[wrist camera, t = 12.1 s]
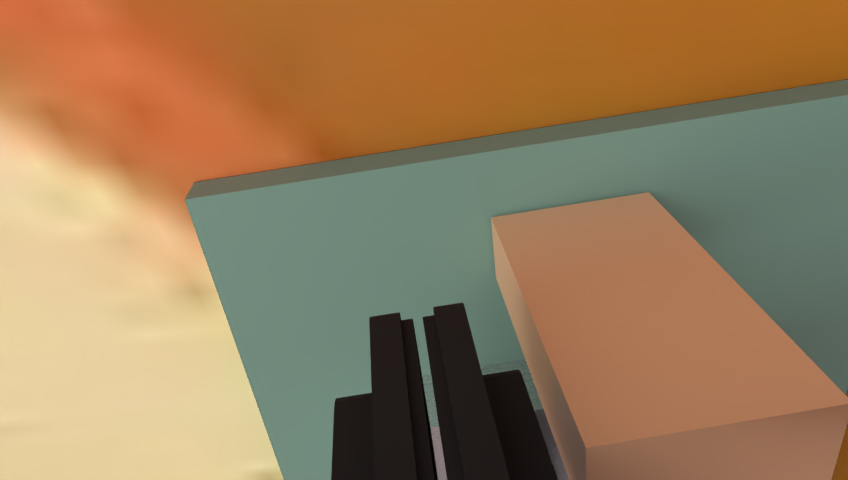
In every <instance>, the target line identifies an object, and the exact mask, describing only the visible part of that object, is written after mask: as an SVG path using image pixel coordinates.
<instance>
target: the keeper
mask: <svg viewBox="0 0 848 480" xmlns="http://www.w3.org/2000/svg"><path fill="white" fill-rule="evenodd" d="M491 226H492V238H493V249H494V261H495V273H496V279H497V282H498V285H499V287H500V290H501V293H502V296H503V299H504V301H505V304H506V307H507V310H508V312H509V315H510V318H511V321H512V323H513V326H514V329H515V332H516V334H517V337H518V340H519V343H520V345H521V348H522V351H523V354H524V356H525V359H526V362H527V365H528V368H529V370H530V373H531V376H532V379H533V381H534V384H535V387H536V390H537V392H538V395H539V398H540V401H541V403H542V406H543V409H544V412H545V414H546V417H547V420H548V423H549V425H550V428H551V431H552V434H553V436H554V439H555V442H556V445H557V448H558V450H559V453H560V456H561V459H562V461H563V464H564V467H565V470H566V472H567V475H568V478H569V480H831V479H832V476H833V472H834V469H835V465H836V462H837V458H838V455H839V451H840V448H841V444H842V441H843V437H844V434H845V430H846V427H847V423H848V397H847V396H846V395H845V394H844V393H843V392H842V391H841V390H840V389H839V388H838V387H837V386H836V385H835V384H834V383H833V382H832V381H831V380H830V379H829V377H828V376H827V375H826V374H825V373H824V372H823V371H822V370H821V369H820V368H819V367H818V366H817V365H816V364H815V363H814V362H813V361H812V360H811V359H810V358H809V357H808V356H807V355H806V354H805V353H804V352H803V351H802V350H801V349H800V348H799V347H798V346H797V344H796V343H795V342H794V341H793V340H792V339H791V338H790V337H789V336H788V335H787V334H786V333H785V332H784V331H783V330H782V329H781V328H780V327H779V326H778V325H777V324H776V323H775V322H774V321H773V320H772V319H771V318H770V317H769V316H768V315H767V314H766V313H765V311H764V310H763V309H762V308H761V307H760V306H759V305H758V304H757V303H756V302H755V301H754V300H753V299H752V298H751V297H750V296H749V295H748V294H747V293H746V292H745V291H744V290H743V289H742V288H741V287H740V286H739V285H738V284H737V283H736V282H735V281H734V280H733V278H732V277H731V276H730V275H729V274H728V273H727V272H726V271H725V270H724V269H723V268H722V267H721V266H720V265H719V264H718V263H717V262H716V261H715V260H714V259H713V258H712V257H711V256H710V255H709V254H708V253H707V252H706V251H705V250H704V249H703V248H702V247H701V245H700V244H699V243H698V242H697V241H696V240H695V239H694V238H693V237H692V236H691V235H690V234H689V233H688V232H687V231H686V230H685V229H684V228H683V227H682V226H681V225H680V224H679V223H678V222H677V221H676V220H675V219H674V218H673V217H672V216H671V215H670V214H669V212H668V211H667V210H666V209H665V208H664V207H663V206H662V205H661V204H660V203H659V202H658V201H657V200H656V199H655V198H654V197H653V196H652V195H651V194H650V193H649V192H646V193H640V194H634V195H628V196H621V197H615V198H609V199H603V200H596V201H590V202H584V203H578V204H572V205H565V206H559V207H553V208H547V209H540V210H534V211H528V212H522V213H515V214H509V215H503V216H497V217H491Z"/></svg>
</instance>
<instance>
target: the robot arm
mask: <svg viewBox="0 0 848 480" xmlns="http://www.w3.org/2000/svg"><path fill="white" fill-rule="evenodd" d="M433 311H434V315H432V316H425V317H423V324H424V330H425V337H426V344H427V350H428V357H429V364H430V370H431V377H432V383H433V390H434V397H435V403H436V410H437V416H438V423H439V430H440V436H441V443H442V449H443V456H444V462H445V468H446V475H447V480H558V478H557V475H556V472H555V469H554V466H553V463H552V461H551V458H550V455H549V452H548V449H547V446H546V443H545V440H544V437H543V434H542V431H541V429H540V426H539V423H538V420H537V417H536V414H535V411H534V408H533V405H532V402H531V399H530V397H529V394H528V391H527V388H526V385H525V382H524V379H523V377H522V374H521V372H520V371H519V369H518V370H511V371H505V372H499V373H493V374H486V375H482V371H481V367H480V364H479V360H478V356H477V352H476V348H475V345H474V341H473V337H472V333H471V329H470V326H469V322H468V318H467V314H466V310H465V307H464V303H463V302H462V303H456V304H449V305H443V306H436V307H433ZM369 327H370V357H371V388H372V393H366V394H360V395H354V396H347V397H341V398H336V400H335V404H334V422H333V447H332V471H331V480H438V476H437V469H436V462H435V455H434V448H433V441H432V434H431V428H430V422H429V415H428V409H427V403H426V397H425V390H424V384H423V378H422V372H421V366H420V359H419V353H418V347H417V341H416V334H415V328H414V322H413V319H406V320H401V315H400V312H398V313H391V314H385V315H379V316H372V317H370V318H369Z"/></svg>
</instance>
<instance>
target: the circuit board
mask: <svg viewBox="0 0 848 480" xmlns="http://www.w3.org/2000/svg"><path fill="white" fill-rule="evenodd" d="M646 192H649V193H650V194H651V195H652V196H653V197H654V198H655V199H656V200H657V201H658V202H659V203H660V204H661V205H662V206H663V207H664V208H665V209H666V210H667V211H668V212H669V214H670V215H671V216H672V217H673V218H674V219H675V220H676V221H677V222H678V223H679V224H680V225H681V226H682V227H683V228H684V229H685V230H686V231H687V232H688V233H689V234H690V235H691V236H692V237H693V238H694V239H695V240H696V241H697V242H698V243H699V244H700V245H701V247H702V248H703V249H704V250H705V251H706V252H707V253H708V254H709V255H710V256H711V257H712V258H713V259H714V260H715V261H716V262H717V263H718V264H719V265H720V266H721V267H722V268H723V269H724V270H725V271H726V272H727V273H728V274H729V275H730V276H731V277H732V278H733V280H734V281H735V282H736V283H737V284H738V285H739V286H740V287H741V288H742V289H743V290H744V291H745V292H746V293H747V294H748V295H749V296H750V297H751V298H752V299H753V300H754V301H755V302H756V303H757V304H758V305H759V306H760V307H761V308H762V309H763V310H764V311H765V313H766V314H767V315H768V316H769V317H770V318H771V319H772V320H773V321H774V322H775V323H776V324H777V325H778V326H779V327H780V328H781V329H782V330H783V331H784V332H785V333H786V334H787V335H788V336H789V337H790V338H791V339H792V340H793V341H794V342H795V343H796V344H797V346H798V347H799V348H800V349H801V350H802V351H803V352H804V353H805V354H806V355H807V356H808V357H809V358H810V359H811V360H812V361H813V362H814V363H815V364H816V365H817V366H818V367H819V368H820V369H821V370H822V371H823V372H824V373H825V374H826V375H827V376H828V377H829V379H830V380H831V381H832V382H833V383H834V384H835V385H836V386H837V387H838V388H839V389H840V390H841V391H842V392H843V393H844V394H845V395H846V392H847V389H848V79H847V80H841V81H834V82H828V83H822V84H815V85H809V86H803V87H796V88H790V89H784V90H777V91H771V92H765V93H758V94H752V95H746V96H739V97H733V98H727V99H720V100H714V101H708V102H701V103H695V104H688V105H682V106H676V107H669V108H663V109H657V110H650V111H644V112H638V113H631V114H625V115H619V116H612V117H606V118H600V119H593V120H587V121H581V122H574V123H568V124H562V125H555V126H549V127H543V128H536V129H530V130H523V131H517V132H511V133H504V134H498V135H492V136H485V137H479V138H473V139H466V140H460V141H454V142H447V143H441V144H435V145H428V146H422V147H416V148H409V149H403V150H397V151H390V152H384V153H378V154H371V155H365V156H358V157H352V158H346V159H339V160H333V161H327V162H320V163H314V164H308V165H301V166H295V167H289V168H282V169H276V170H270V171H263V172H257V173H251V174H244V175H238V176H232V177H225V178H219V179H213V180H206V181H200V182H194V184H193V186H192V187H191V189H190V191H189V193H188V195H187V196H186V198H185V202H186V205H187V208H188V210H189V213H190V216H191V219H192V222H193V224H194V227H195V230H196V233H197V236H198V239H199V241H200V244H201V247H202V250H203V253H204V255H205V258H206V261H207V264H208V267H209V270H210V272H211V275H212V278H213V281H214V284H215V286H216V289H217V292H218V295H219V298H220V301H221V303H222V306H223V309H224V312H225V315H226V317H227V320H228V323H229V326H230V329H231V332H232V334H233V337H234V340H235V343H236V346H237V348H238V351H239V354H240V357H241V360H242V363H243V365H244V368H245V371H246V374H247V377H248V379H249V382H250V385H251V388H252V391H253V394H254V396H255V399H256V402H257V405H258V408H259V410H260V413H261V416H262V419H263V422H264V425H265V427H266V430H267V433H268V436H269V439H270V441H271V444H272V447H273V450H274V453H275V456H276V458H277V461H278V464H279V467H280V470H281V472H282V475H283V478H284V480H331V471H332V447H333V422H334V404H335V400H336V398H341V397H347V396H354V395H360V394H366V393H372V388H371V357H370V327H369V318H370V317H372V316H379V315H385V314H391V313H398V312H400V315H401V320H406V319H413V322H414V328H415V334H416V341H417V347H418V353H419V359H420V366H421V372H422V376H424V375H430V374H431V370H430V364H429V357H428V350H427V344H426V337H425V330H424V324H423V317H425V316H432V315H434V311H433V307H436V306H443V305H449V304H456V303H462V302H463V303H464V307H465V310H466V314H467V318H468V322H469V326H470V329H471V333H472V337H473V341H474V345H475V348H476V352H477V356H478V360H479V364H480V366H485V365H491V364H497V363H503V362H509V361H515V360H521V359H525V356H524V354H523V351H522V348H521V345H520V343H519V340H518V337H517V334H516V332H515V329H514V326H513V323H512V321H511V318H510V315H509V312H508V310H507V307H506V304H505V301H504V299H503V296H502V293H501V290H500V287H499V285H498V282H497V279H496V273H495V261H494V249H493V238H492V226H491V217H497V216H503V215H509V214H515V213H522V212H528V211H534V210H540V209H547V208H553V207H559V206H565V205H572V204H578V203H584V202H590V201H596V200H603V199H609V198H615V197H621V196H628V195H634V194H640V193H646Z"/></svg>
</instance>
